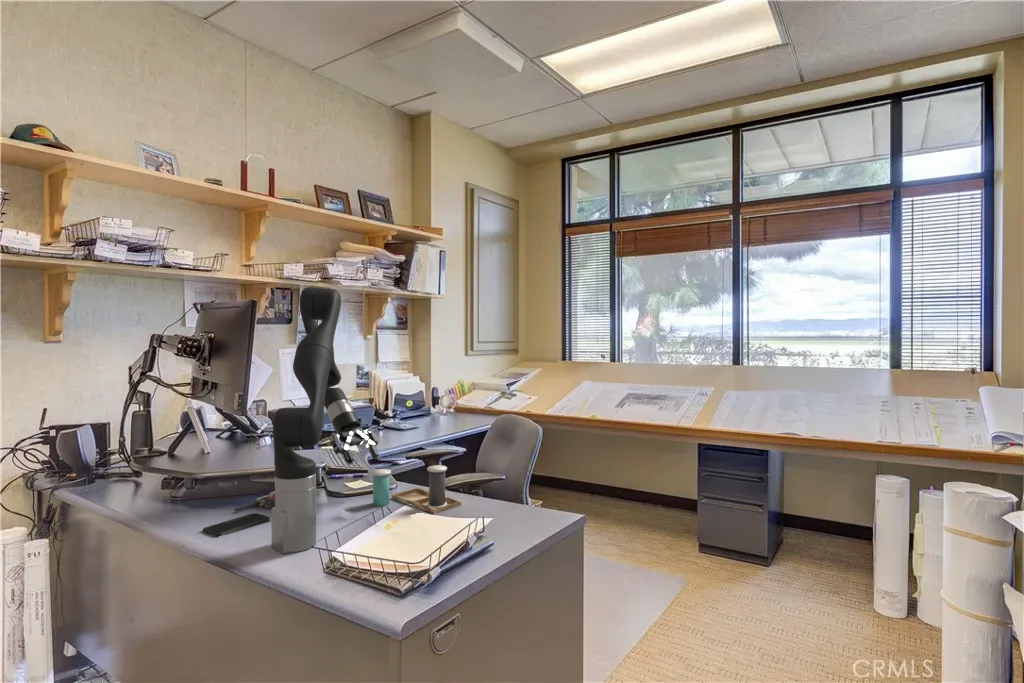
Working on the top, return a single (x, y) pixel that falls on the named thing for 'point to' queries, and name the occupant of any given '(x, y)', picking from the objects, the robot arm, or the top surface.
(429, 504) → the black spool
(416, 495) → the tray
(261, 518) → the phone
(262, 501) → the red grey long piece
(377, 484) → the teal spool
